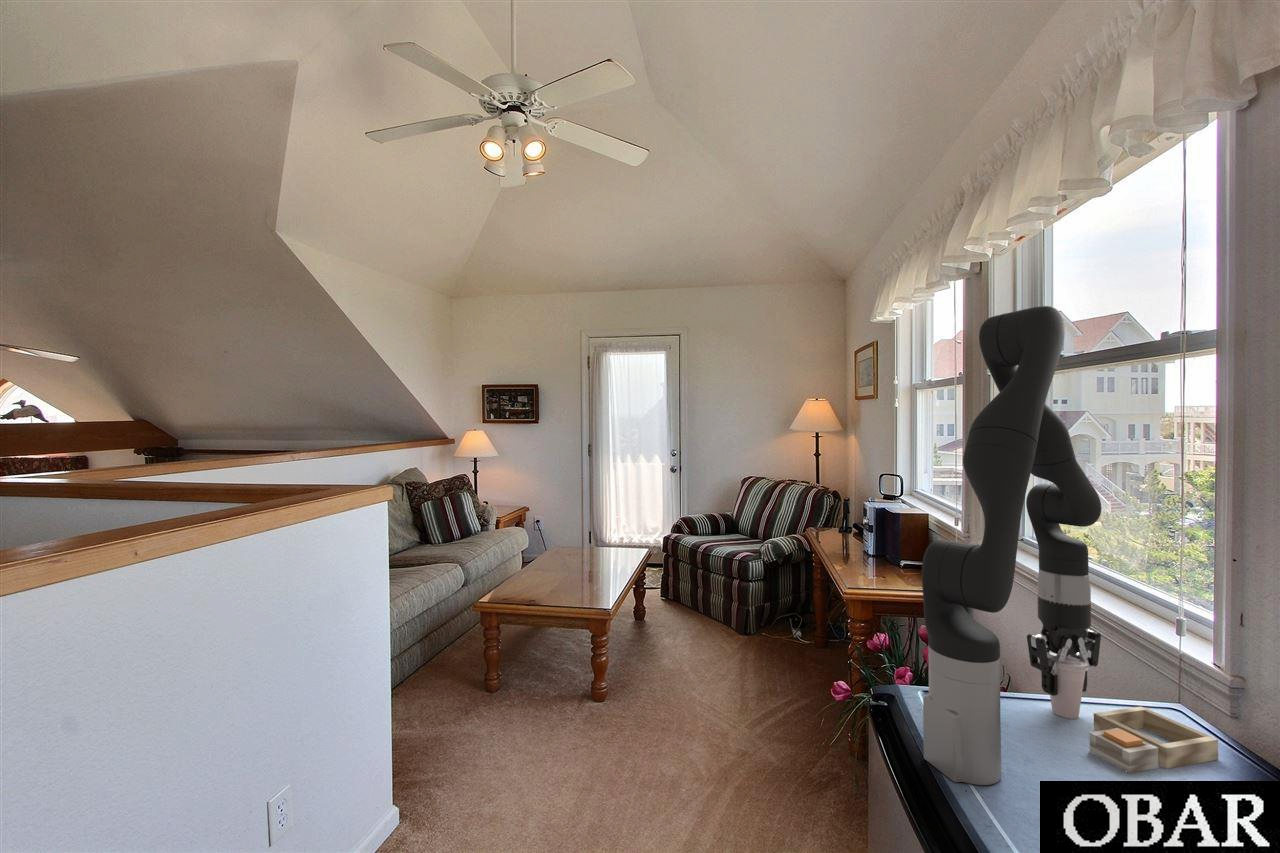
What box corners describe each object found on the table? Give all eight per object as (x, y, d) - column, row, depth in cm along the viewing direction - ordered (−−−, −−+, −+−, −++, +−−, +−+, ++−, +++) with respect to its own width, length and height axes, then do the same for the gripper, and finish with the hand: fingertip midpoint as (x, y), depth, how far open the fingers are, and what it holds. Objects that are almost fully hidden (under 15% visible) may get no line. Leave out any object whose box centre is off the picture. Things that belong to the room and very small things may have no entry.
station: (1132, 775, 79) (1132, 754, 79) (1062, 736, 89) (1062, 718, 89) (1218, 759, 83) (1218, 739, 83) (1141, 724, 93) (1141, 706, 93)
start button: (1126, 758, 81) (1126, 742, 81) (1103, 746, 84) (1103, 731, 84) (1143, 755, 81) (1142, 739, 82) (1119, 744, 85) (1119, 728, 85)
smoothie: (1097, 724, 93) (1096, 642, 93) (1054, 720, 94) (1054, 639, 94) (1075, 706, 99) (1074, 629, 99) (1035, 702, 100) (1035, 626, 100)
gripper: (1051, 606, 92) (1052, 706, 91) (1117, 600, 95) (1118, 697, 94) (1011, 593, 99) (1012, 686, 99) (1074, 588, 102) (1075, 678, 102)
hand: (1064, 691), depth 97 cm, fingers closed on smoothie, 5 cm apart
